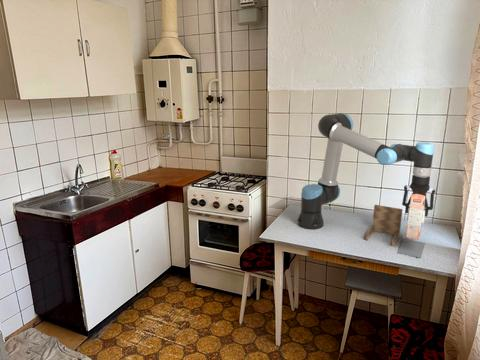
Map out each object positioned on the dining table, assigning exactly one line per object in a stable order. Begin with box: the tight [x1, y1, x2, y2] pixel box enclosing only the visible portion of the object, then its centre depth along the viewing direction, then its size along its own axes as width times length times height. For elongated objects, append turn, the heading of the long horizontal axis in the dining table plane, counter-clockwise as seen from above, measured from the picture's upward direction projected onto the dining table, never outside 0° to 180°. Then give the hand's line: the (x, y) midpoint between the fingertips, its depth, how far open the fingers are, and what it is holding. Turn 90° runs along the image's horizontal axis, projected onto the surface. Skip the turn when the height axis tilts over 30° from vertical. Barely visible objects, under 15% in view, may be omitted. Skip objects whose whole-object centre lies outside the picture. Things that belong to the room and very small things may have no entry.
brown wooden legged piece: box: [365, 204, 403, 247], centre depth 185 cm, size 14×16×15 cm
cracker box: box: [405, 191, 428, 241], centre depth 169 cm, size 14×6×21 cm, turn 148°
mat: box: [397, 238, 426, 259], centre depth 174 cm, size 10×18×1 cm, turn 147°
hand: (415, 220), depth 170 cm, fingers closed on cracker box, 6 cm apart
